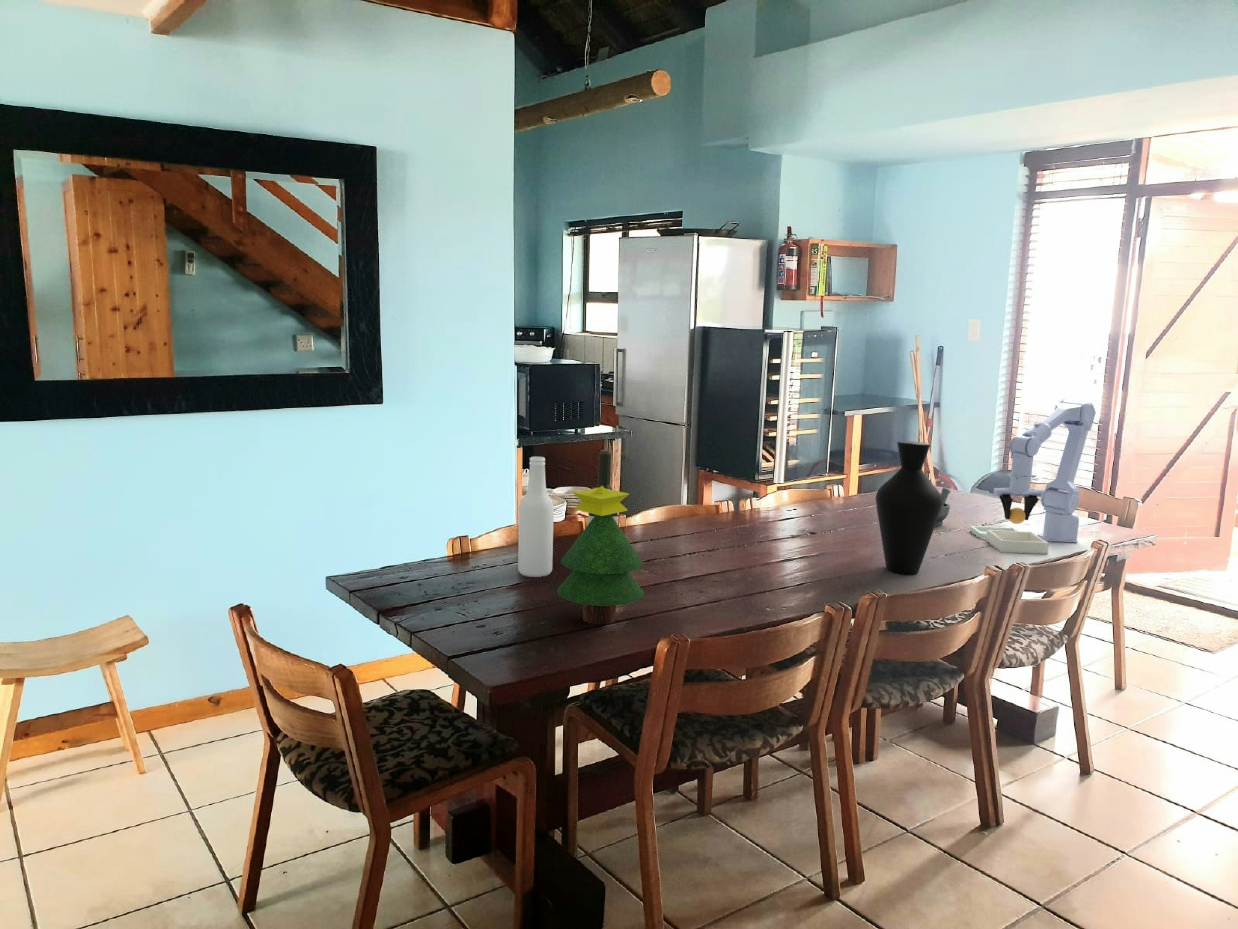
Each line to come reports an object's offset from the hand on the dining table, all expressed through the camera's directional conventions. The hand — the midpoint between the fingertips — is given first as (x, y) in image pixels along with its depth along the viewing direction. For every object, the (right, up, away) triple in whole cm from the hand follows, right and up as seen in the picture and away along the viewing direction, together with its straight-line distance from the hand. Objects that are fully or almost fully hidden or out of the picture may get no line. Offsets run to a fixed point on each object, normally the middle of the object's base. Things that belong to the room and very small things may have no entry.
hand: (1016, 519), depth 288 cm
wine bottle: (-126, -9, -30) cm, 130 cm away
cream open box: (0, -9, -1) cm, 9 cm away
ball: (0, +1, 0) cm, 1 cm away
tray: (-1, -6, +13) cm, 15 cm away
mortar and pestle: (-16, -3, +27) cm, 32 cm away
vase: (-44, -12, -31) cm, 55 cm away
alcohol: (-143, -11, -45) cm, 150 cm away
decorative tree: (-125, -18, -78) cm, 149 cm away
